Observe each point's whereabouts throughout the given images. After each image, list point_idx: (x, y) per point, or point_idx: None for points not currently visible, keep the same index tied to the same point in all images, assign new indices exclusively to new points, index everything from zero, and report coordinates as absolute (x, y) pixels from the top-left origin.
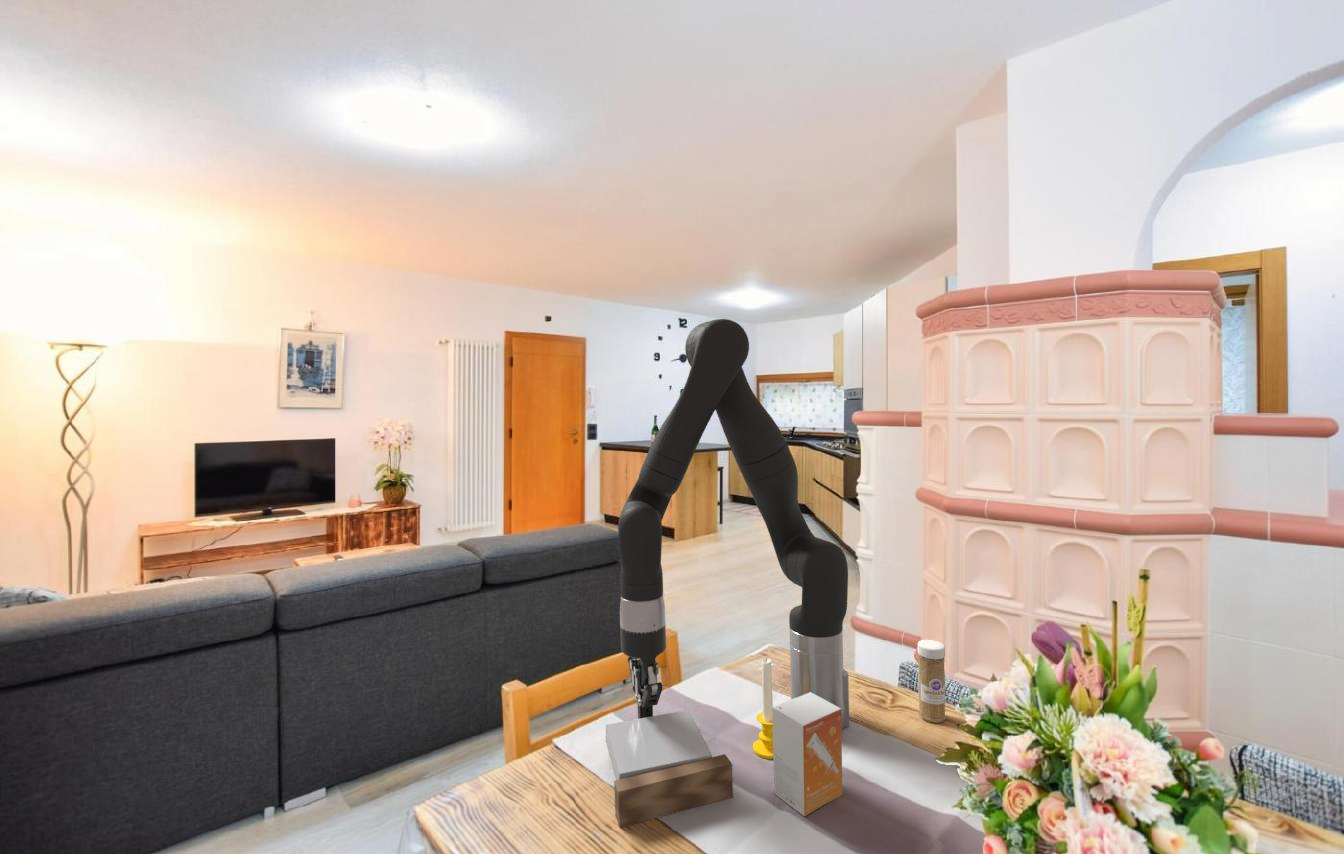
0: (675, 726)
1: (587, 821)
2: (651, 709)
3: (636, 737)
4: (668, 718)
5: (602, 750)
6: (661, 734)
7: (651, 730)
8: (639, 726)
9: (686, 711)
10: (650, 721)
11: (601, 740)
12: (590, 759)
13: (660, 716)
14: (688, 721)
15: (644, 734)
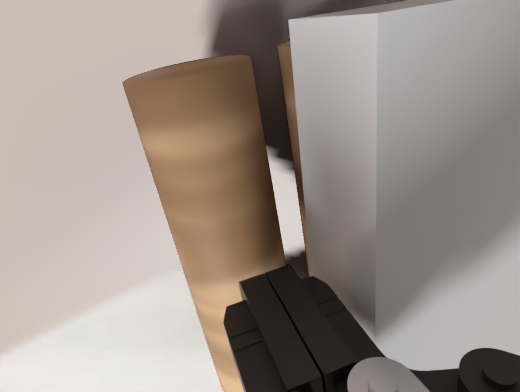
0: (494, 153)
1: None
2: (371, 340)
3: (484, 343)
4: (422, 202)
5: (198, 369)
6: (511, 234)
7: (470, 288)
8: (427, 352)
9: (395, 43)
10: (413, 308)
11: (129, 388)
12: None
13: (389, 257)
14: (493, 49)
15: (483, 315)
